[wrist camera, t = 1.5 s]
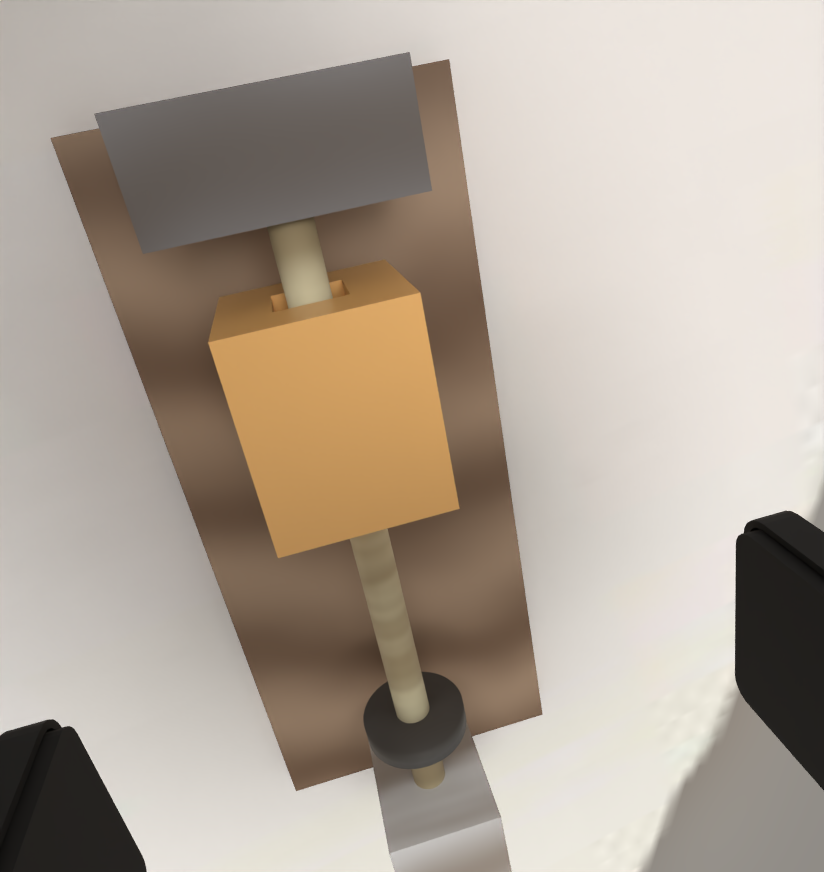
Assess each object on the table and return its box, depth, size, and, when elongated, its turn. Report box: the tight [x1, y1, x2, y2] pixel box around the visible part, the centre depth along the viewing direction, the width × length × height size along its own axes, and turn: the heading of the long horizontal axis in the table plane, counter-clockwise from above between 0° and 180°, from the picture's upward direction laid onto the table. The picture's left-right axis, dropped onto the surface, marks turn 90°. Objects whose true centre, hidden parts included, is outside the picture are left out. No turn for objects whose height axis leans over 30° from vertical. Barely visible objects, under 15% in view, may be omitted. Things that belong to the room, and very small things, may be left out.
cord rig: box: [51, 52, 542, 872], centre depth 24 cm, size 28×12×8 cm, turn 11°
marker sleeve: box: [208, 259, 460, 558], centre depth 19 cm, size 6×5×5 cm
